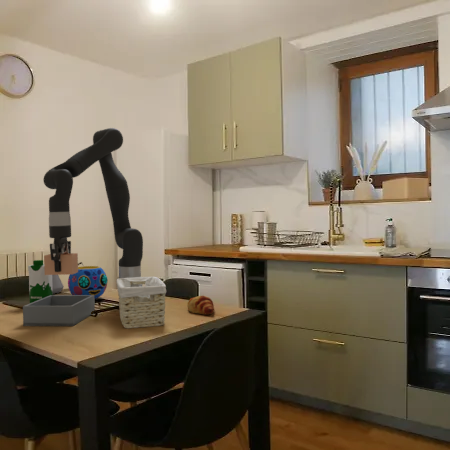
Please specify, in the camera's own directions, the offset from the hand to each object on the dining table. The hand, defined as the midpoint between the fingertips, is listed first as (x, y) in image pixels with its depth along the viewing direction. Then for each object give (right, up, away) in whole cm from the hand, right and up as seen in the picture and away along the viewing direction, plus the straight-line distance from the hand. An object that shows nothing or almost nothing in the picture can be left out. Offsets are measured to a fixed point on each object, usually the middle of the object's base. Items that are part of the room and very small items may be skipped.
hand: (61, 270), depth 164 cm
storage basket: (+29, -19, +1) cm, 34 cm away
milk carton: (-20, -19, +31) cm, 41 cm away
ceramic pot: (-4, -18, +45) cm, 48 cm away
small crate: (0, -1, 0) cm, 1 cm away
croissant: (+50, -18, +16) cm, 56 cm away
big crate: (-2, -19, +5) cm, 20 cm away
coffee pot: (-24, -18, +66) cm, 72 cm away
